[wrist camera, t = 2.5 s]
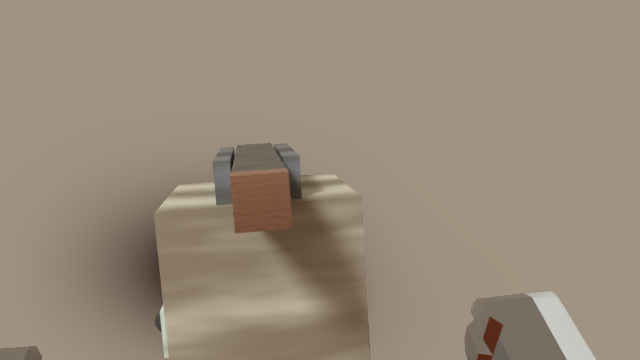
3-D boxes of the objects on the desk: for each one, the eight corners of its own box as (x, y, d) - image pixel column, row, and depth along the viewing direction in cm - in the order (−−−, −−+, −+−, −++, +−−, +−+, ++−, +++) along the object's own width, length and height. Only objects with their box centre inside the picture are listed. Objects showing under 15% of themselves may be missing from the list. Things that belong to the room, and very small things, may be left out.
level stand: (186, 481, 50) (152, 151, 46) (368, 457, 52) (350, 137, 48) (158, 655, 34) (103, 175, 30) (421, 610, 36) (401, 152, 32)
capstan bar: (240, 178, 44) (237, 145, 44) (272, 175, 44) (270, 143, 44) (234, 233, 25) (230, 176, 25) (292, 228, 25) (288, 171, 25)
